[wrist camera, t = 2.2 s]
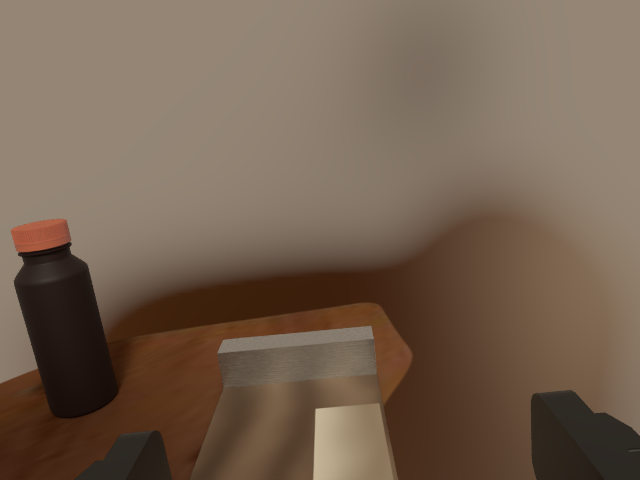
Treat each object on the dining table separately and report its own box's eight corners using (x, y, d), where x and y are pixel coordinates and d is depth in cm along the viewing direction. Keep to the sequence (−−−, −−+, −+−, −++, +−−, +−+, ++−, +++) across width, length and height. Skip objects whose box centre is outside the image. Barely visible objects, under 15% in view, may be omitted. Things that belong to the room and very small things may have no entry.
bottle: (37, 422, 49) (-18, 236, 44) (71, 386, 56) (26, 220, 51) (101, 416, 49) (53, 228, 44) (128, 381, 56) (88, 213, 51)
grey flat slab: (180, 525, 34) (177, 511, 34) (228, 387, 52) (227, 377, 52) (401, 507, 34) (400, 493, 34) (375, 374, 51) (374, 364, 51)
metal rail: (223, 387, 50) (217, 353, 49) (229, 372, 53) (223, 339, 52) (376, 374, 49) (373, 338, 48) (374, 359, 52) (371, 325, 51)
